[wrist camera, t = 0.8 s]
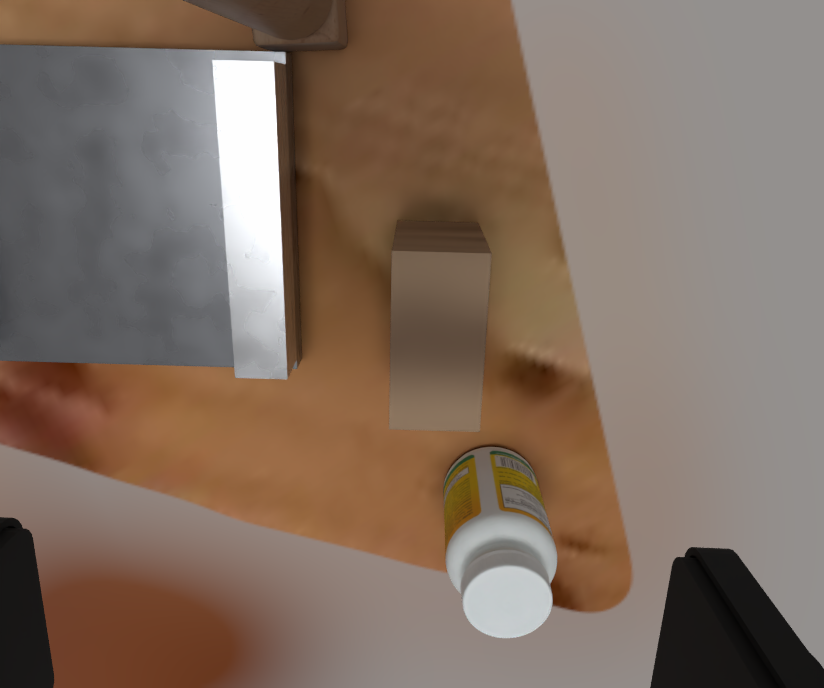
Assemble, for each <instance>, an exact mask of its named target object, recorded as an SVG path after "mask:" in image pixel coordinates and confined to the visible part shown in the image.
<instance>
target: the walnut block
mask: <svg viewBox="0 0 824 688" xmlns="http://www.w3.org/2000/svg"><path fill="white" fill-rule="evenodd" d="M491 255H492V253H491V251H490V249H489V246H488V244H487V242H486V240H485V237H484V235H483V233H482V230H481V228H480V226H479V224H478V223H470V222H434V221H398V222H397V227H396V232H395V237H394V242H393V247H392V266H391V335H390V404H389V429H396V430H430V431H465V432H480V420H481V405H482V390H483V375H484V360H485V345H486V330H487V315H488V300H489V285H490V270H491Z"/></svg>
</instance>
